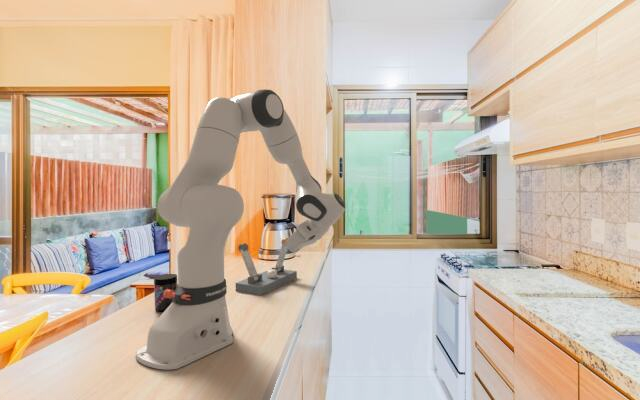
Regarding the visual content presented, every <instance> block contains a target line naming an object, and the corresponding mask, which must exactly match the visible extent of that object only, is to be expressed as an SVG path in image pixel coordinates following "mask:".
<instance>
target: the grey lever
mask: <svg viewBox="0 0 640 400" xmlns="http://www.w3.org/2000/svg"><path fill="white" fill-rule="evenodd" d="M237 248H238V251H239V252H240V254H241V256H242V260H243V262H244V264H245V266H246V267H245V268H246V270H247V272H248V275H249V276H248V277H254V282H256V281H258V280H260V277H259V275H258V274H259V273H258V271H257V269H256V266H255V264H254V261H253V259H252V256H251V254H250V251H249V245H248V244H247V243H246V242H245V243H241V244H239V245H238V247H237Z"/></svg>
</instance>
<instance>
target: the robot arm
mask: <svg viewBox="0 0 640 400" xmlns="http://www.w3.org/2000/svg"><path fill="white" fill-rule="evenodd" d="M256 131H257V132H258V131H259V132H260V133H261V135H262V136H261V137H262V139H263V142H264V143H265V145H266V147H267V150H268V152H269V153H270V155H271V156H272V158H273V159H274V161H275V162H277V163H278V164H283V165H287V167H288V169H289V170H290V173H291V174H292V176H293V179H294V181H295V182H296V184H295V186H296V187H295V191H296V192H295V193H296V198H295V205H296V206H295V207H296V210H297V212H298V214H300V215H301V216H303V217H305V218H307V219H305V220H304V222H302V223H299V224H298V225H297V226H296V229H295V231H293V233H292V234H291V235H290V236H289V237H288V238H289V239H288V240H287V241H286V244H285V245H286V247H287V250H289V251H290V253H292V254H297V253H298V252H299V250H301V249H303V248H304V247H307V246H311V245H313V244H315V243H316V242H318V241H320V240H321V239H322V238H323V236H325V235H326V233H327V232H328V231H329V230H330V228H331V227H332V226H333V225H335V224H336V222H337V221H339V219H340V218H341V217H342V216H343V214H344V212H345V211H346V205H345V202H344V200H343V199H342V197H341V196H340V194H337V193H336V192H333V193H325V192H322V186H321V183H319V181H318V180H317V179H315V178H314V177H313V176H312V174H311V172H310V170H309V168H308V166H307V164H306V161H305V159H304V157H303V150H302V144H301V141H300V138H299V135H298V131H297V130H296V127H295V126H294V124H293V122H292V120H291V118H290V116H289V115H288V112H287V111H286V110H285V108H284V104H283V101H282V99H281V98H280V96H279V95H278V94H277V93H276V92H274V90H272V89H259V90H256V91H251V92H246V93H241V94H238V95H236V96H234V97H232V98H227V97H223V96H222V97H221V96H219V97H215V98H212V99H211V100H210V101H208V103H207V104H206V107H205V109H204V110H203V112H202V115H201V117H200V120H199V123H198V125H197V127H196V131H195V135H194V138H193V141H192V145H191V148H190V151H189V154H188V157H187V159H186V161H185V163H184V164H183V167H182V168H181V170H180V172H179V173H178V175H177V176H176V178H175V179H174V181H173V182H172V183H171V185H169V187H168V188H167V189H166V190H164V191H163V192H162V193H161V195H160V196H159V197H158V200H157V211H158V214H159V217H161V218H162V220H163V221H165V222H166V223H169V224H171V225H173V226H175V227H181V228H189V232H188V237H187V241H186V243H185V245H184V246H183V247H182V248H181V249H180V250H179V251H178V254H177V286H176V289H175V292H174V291H173V290H169V289H166V290H165V291H164V292H163V293H164V294H163V295H164V296H163V297H165V298H169V299H171V298H173V299H172V301H173V302H172V303H171V304H170V305H169V307H168V308H167V309H166V310H165V311H164V312H161V315H159V317H158V318H157V319H156V320H155V321H154V322H153V323H152V324H151V326H150V327H149V330H148V333H147V339H146V340H147V341H146V344H145V345H144V346H142V347H140V348H138V349H137V350H136V352H135V353H136V354H135V359H136V360H137V362H139V363H140V364H142V365H144V366H146V367H150V368H153V369H156V370H164V371H165V370H166V371H167V370H169V371H170V370H177V369H180V368H182V367H184V366H186V365H188V364H190V363H193V362H194V361H198V360H199V359H202V358H204V357H205V356H207V355H210V354H212V353H214V352H216V351H218V350H221V349H223V348H225V347H227V346H229V345H232V343H234V339H233V336H232V334H233V329H232V327H231V322H230V318H229V312H228V306H227V299H226V294H227V288H228V287H227V280H226V278H225V251H226V250H225V249H226V244H227V240H228V238H229V235H230V234H231V231H232V230H233V228H234V227H235V226H236V225H237V224H238V223H239V222H240V221H241V219H242V218H243V214H244V211H245V205H244V204H245V203H244V200H243V199H244V198H243V197H242V195H241V194H240V192H239V191H238V190H237V189H235V188H233V187H230V186H227V185H223V184H219V183H220V182H221V181H222V179H224V177H225V176H227V175H228V174H229V173H230V172H231V170H232V169H233V166H234V163H235V158H236V154H237V149H238V145H239V142H240V137H241V134H242V133H247V132H249V133H250V132H256Z"/></svg>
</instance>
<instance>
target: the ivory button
mask: <svg viewBox="0 0 640 400" xmlns="http://www.w3.org/2000/svg"><path fill="white" fill-rule="evenodd" d="M271 269H272V268H271ZM267 271H268V278H277V270H274V269H272V270H270V269H268V270H267Z"/></svg>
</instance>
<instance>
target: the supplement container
mask: <svg viewBox="0 0 640 400" xmlns="http://www.w3.org/2000/svg"><path fill="white" fill-rule="evenodd" d="M177 284H178V274H176V273H165V274H159V275H157V276H155V277H153V288H154V310H155V311H156V312H158V313H163V312H164V311H165V310H166V309H167V308H168V307H169V305H170V304H171V303H172V302H173V301H172V299H173V298H171V299H169V298H165V297H163V296H164V295H163V294H164V293H163V292H164V291H165V290H166V289H169V290H173V291H174V292H175V289H176V286H177Z"/></svg>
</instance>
